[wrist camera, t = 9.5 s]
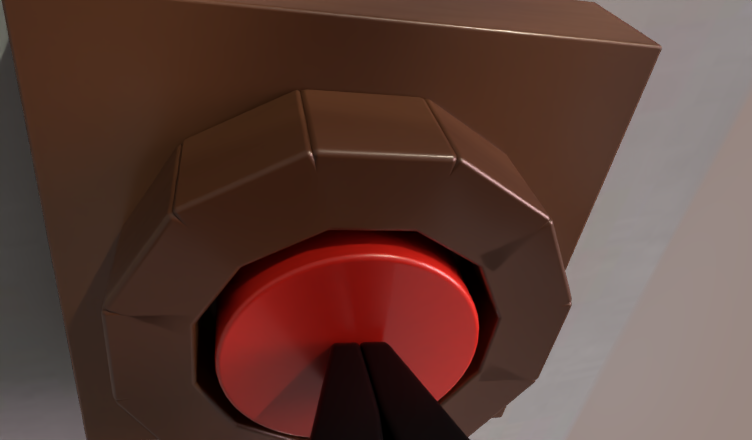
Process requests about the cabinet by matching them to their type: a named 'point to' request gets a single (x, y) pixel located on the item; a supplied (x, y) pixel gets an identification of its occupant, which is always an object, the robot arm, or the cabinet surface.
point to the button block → (309, 171)
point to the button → (339, 319)
